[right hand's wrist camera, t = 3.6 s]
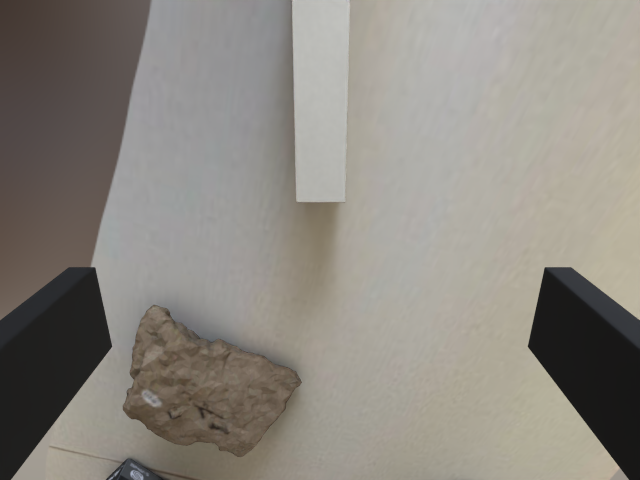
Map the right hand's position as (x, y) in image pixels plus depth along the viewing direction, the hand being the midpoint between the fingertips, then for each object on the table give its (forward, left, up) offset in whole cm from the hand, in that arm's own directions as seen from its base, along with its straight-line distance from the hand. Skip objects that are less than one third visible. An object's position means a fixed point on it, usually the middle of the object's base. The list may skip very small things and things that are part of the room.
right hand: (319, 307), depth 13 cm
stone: (-33, -3, -35) cm, 48 cm away
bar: (+6, +3, -35) cm, 35 cm away
